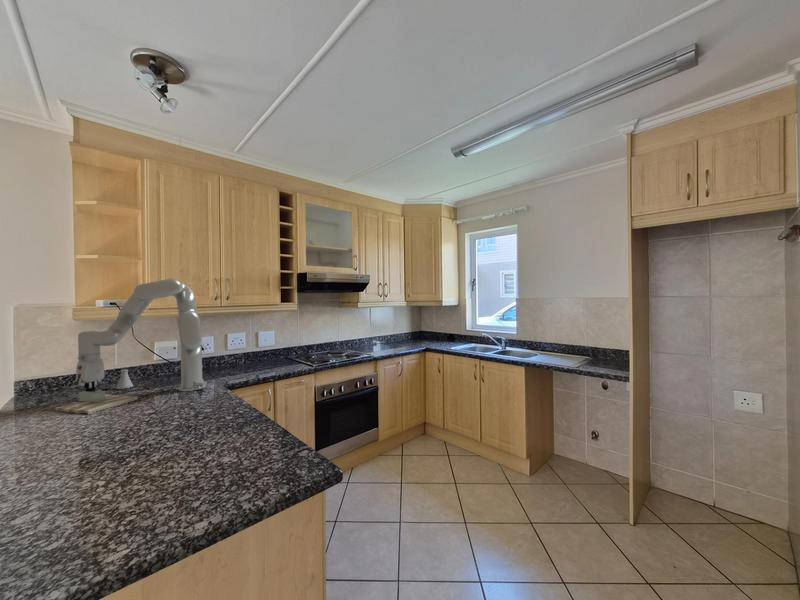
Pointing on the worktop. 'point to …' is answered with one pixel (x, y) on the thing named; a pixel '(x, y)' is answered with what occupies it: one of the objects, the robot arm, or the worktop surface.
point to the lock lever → (92, 396)
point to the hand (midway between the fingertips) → (90, 395)
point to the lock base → (96, 404)
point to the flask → (124, 380)
